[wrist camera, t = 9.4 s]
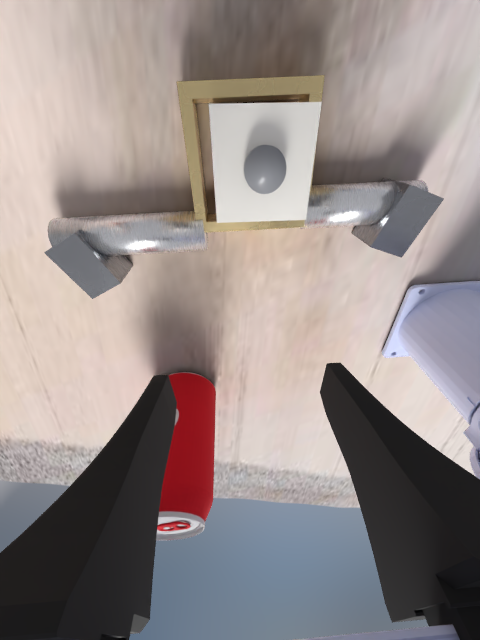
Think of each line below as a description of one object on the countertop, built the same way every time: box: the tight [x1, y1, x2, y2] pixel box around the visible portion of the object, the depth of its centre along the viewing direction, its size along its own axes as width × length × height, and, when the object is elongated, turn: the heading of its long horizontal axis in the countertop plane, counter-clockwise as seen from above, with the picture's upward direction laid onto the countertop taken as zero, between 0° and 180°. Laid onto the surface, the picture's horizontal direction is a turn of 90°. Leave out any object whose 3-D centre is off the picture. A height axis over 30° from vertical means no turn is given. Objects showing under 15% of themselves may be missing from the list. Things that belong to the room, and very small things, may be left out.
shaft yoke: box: [45, 75, 443, 299], centre depth 15 cm, size 23×10×3 cm, turn 92°
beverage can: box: [156, 372, 216, 540], centre depth 22 cm, size 6×6×12 cm
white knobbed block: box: [209, 102, 322, 223], centre depth 12 cm, size 4×4×7 cm
